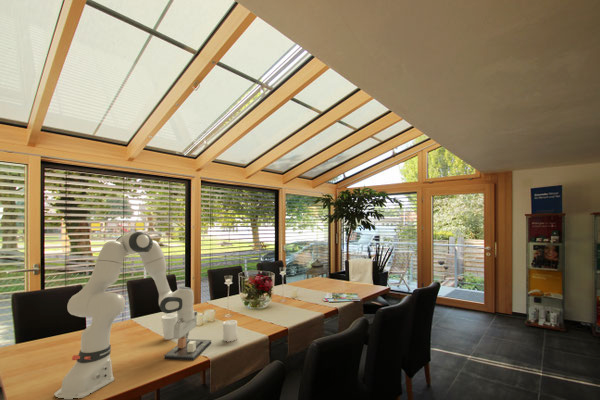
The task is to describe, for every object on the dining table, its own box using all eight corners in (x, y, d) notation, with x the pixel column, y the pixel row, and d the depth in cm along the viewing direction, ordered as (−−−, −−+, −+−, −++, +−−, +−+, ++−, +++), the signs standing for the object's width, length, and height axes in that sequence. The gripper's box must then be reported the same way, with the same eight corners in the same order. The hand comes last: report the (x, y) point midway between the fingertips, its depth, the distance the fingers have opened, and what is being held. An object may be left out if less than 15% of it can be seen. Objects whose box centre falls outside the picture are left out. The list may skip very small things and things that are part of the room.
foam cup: (157, 339, 186) (158, 317, 187) (168, 334, 195) (168, 313, 196) (170, 341, 183) (171, 319, 184) (181, 335, 192) (181, 314, 193)
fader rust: (182, 349, 167) (182, 339, 167) (177, 349, 167) (177, 339, 168) (186, 347, 170) (186, 337, 171) (180, 346, 171) (181, 337, 171)
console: (193, 360, 157) (193, 356, 157) (164, 359, 159) (164, 355, 159) (211, 343, 178) (211, 339, 179) (185, 342, 180) (185, 339, 181)
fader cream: (192, 353, 161) (192, 343, 162) (187, 353, 162) (187, 343, 162) (195, 351, 165) (195, 341, 165) (190, 350, 165) (190, 340, 165)
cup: (224, 342, 179) (224, 325, 180) (221, 336, 190) (221, 319, 191) (238, 340, 182) (238, 323, 183) (234, 333, 193) (234, 317, 194)
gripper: (181, 321, 163) (181, 348, 162) (198, 311, 183) (198, 334, 182) (170, 321, 164) (169, 348, 163) (188, 310, 184) (188, 334, 183)
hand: (185, 341), depth 173 cm, fingers closed
